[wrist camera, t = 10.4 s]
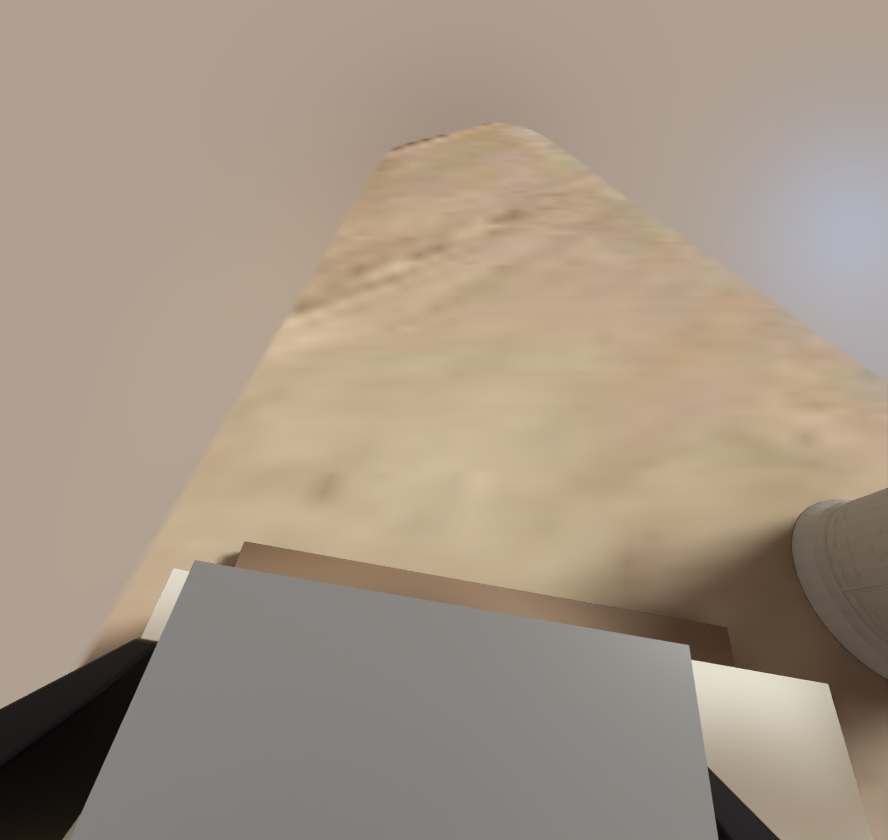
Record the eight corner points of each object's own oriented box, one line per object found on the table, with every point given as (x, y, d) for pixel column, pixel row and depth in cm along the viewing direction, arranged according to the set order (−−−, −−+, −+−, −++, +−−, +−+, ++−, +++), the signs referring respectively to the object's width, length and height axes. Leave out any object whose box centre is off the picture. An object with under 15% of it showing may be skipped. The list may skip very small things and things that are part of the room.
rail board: (768, 986, 13) (1044, 1217, 7) (123, 884, 12) (-82, 1051, 7) (707, 629, 18) (843, 614, 13) (253, 548, 18) (193, 496, 12)
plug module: (445, 828, 12) (913, 2151, 1) (301, 806, 12) (-470, 2036, 1) (463, 657, 15) (685, 626, 4) (342, 636, 15) (202, 542, 4)
